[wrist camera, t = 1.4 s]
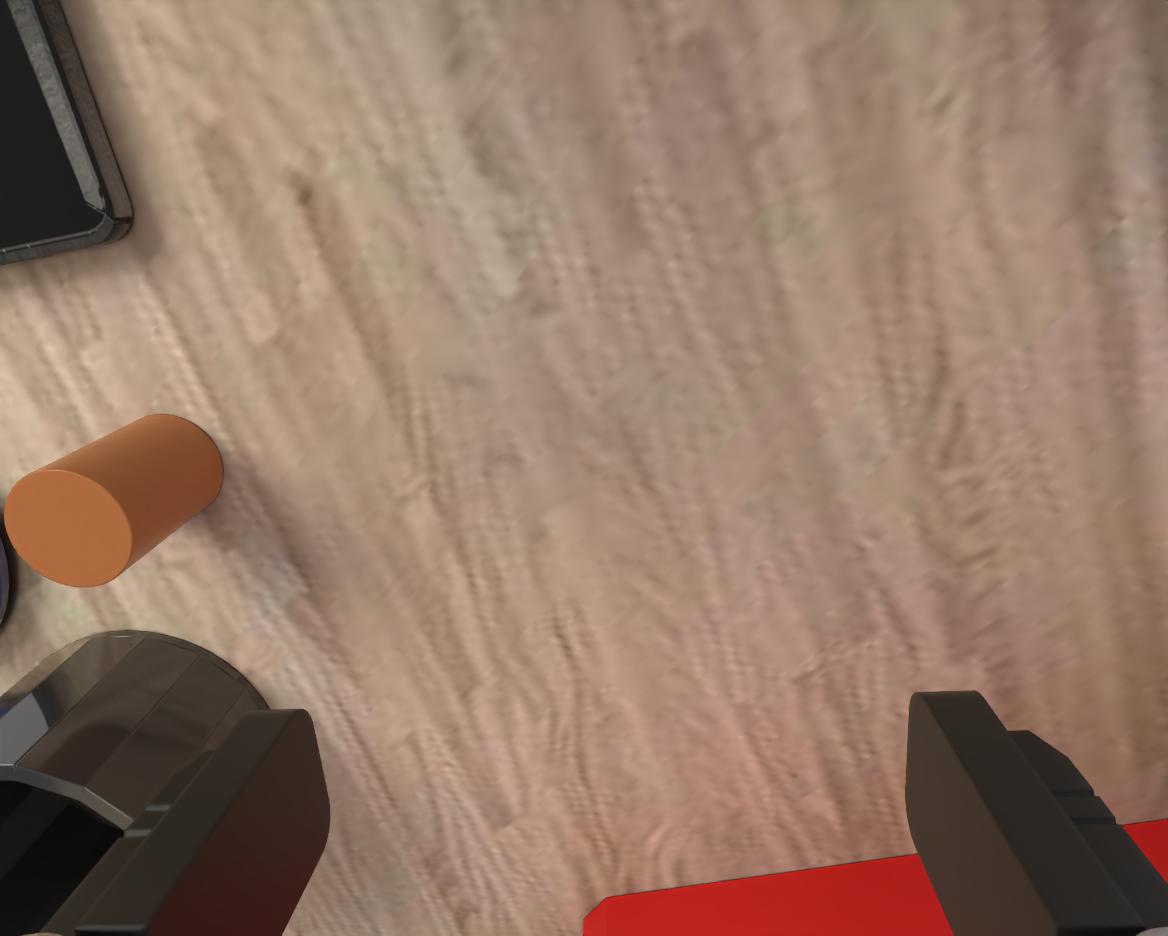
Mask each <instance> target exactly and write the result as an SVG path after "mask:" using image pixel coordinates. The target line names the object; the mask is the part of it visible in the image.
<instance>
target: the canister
mask: <svg viewBox="0 0 1168 936" xmlns="http://www.w3.org/2000/svg"><path fill="white" fill-rule="evenodd" d="M254 710H269V709H268V707H267V705H266V703H265V702H264V700H263V699H262V698H261V696H260V695H259V694H258V692H257V691H256V690H255V689H254V687H253V686H252V685H251V684H250V683H249V682H248V681H247V680H246V679H245V678H244V677H243V676H242V675H241V674H239V673H238V672H237V671H236V670H235V669H233V668H232V667H231V666H230V665H229V664H227V663H226V662H224V661H223V660H221V659H220V658H218V657H217V656H215V655H214V654H212V653H210V652H208V651H206V650H204V649H202V648H200V647H198V646H196V645H193V644H191V643H188V642H186V641H183V640H181V639H178V638H174V637H170V636H167V635H163V634H158V633H152V632H146V631H128V630H127V631H111V632H106V633H100V634H95V635H92V636H89V637H86V638H83V639H80V640H77V641H75V642H73V643H72V644H70V645H68V646H66V647H64V648H63V649H61V650H60V651H59V652H56V653H54V654H51V655H50V656H49V657H47V658H46V659H45V660H44V661H42V662H41V663H40V664H39V665H38V666H36V667H35V668H34V669H33V670H32V671H30V672H29V673H28V674H27V675H26V676H24V677H23V678H22V679H21V680H20V681H18V682H17V683H16V684H15V685H14V686H12V687H11V688H10V689H9V690H8V691H6V692H5V693H4V694H3V695H2V696H0V936H23V935H28V934H34V933H39V932H40V931H41V930H42V929H43V927H44V926H45V925H46V924H47V923H48V921H49V920H50V919H51V918H52V917H53V915H54V914H55V913H56V912H57V911H58V909H59V908H60V907H61V906H62V905H63V904H64V902H65V901H66V900H67V899H68V898H69V896H70V895H71V894H72V893H73V892H74V890H75V889H76V888H77V887H78V886H79V884H80V883H81V882H82V881H83V880H84V878H85V877H86V876H87V875H88V874H89V872H90V871H91V870H92V869H93V868H94V866H95V865H96V864H97V863H98V862H99V861H100V859H101V858H102V857H103V856H104V855H105V853H106V852H107V851H108V850H109V849H110V847H111V846H112V845H113V844H114V843H115V841H116V840H117V839H118V838H123V836H124V831H125V829H126V828H127V827H128V826H129V825H130V823H131V822H132V821H133V820H134V819H135V818H136V816H137V815H138V814H139V813H140V812H144V811H145V806H146V804H147V803H148V802H149V801H150V800H151V798H152V797H153V796H154V795H155V794H156V792H157V791H158V790H159V789H160V788H161V786H162V785H163V784H164V783H165V782H166V780H167V779H168V778H169V777H170V776H171V775H172V774H174V773H175V772H176V771H178V770H179V769H181V768H182V767H183V766H185V765H186V764H187V763H189V762H190V761H192V760H193V759H194V758H196V757H197V756H199V755H200V754H201V753H203V752H204V751H206V750H215V749H216V748H217V747H218V746H219V744H220V743H221V742H222V741H223V739H224V738H225V737H226V736H227V734H228V733H229V732H230V731H231V729H232V728H233V727H234V725H235V724H236V723H237V722H238V720H239V719H240V718H241V717H242V716H243V715H244V714H245V713H246V712H248V711H254Z"/></svg>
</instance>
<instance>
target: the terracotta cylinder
mask: <svg viewBox="0 0 1168 936" xmlns="http://www.w3.org/2000/svg"><path fill="white" fill-rule="evenodd" d="M222 481H223V465H222V460H221V457H220V454H219V452H218V450H217V448H216V446H215V445H214V443H213V442H212V440H211V439H210V438H209V437H208V436H207V434H206V433H204V432H203V431H202V430H201V429H200V428H199V427H197V426H196V425H194V424H193V423H191V422H189V421H187V420H185V419H182V418H180V417H176V416H172V415H163V414H158V415H151V416H146V417H144V418H141V419H139V420H137V421H135V422H133V423H131V424H129V425H127V426H125V427H123V428H121V429H119V430H117V431H115V432H113V433H111V434H109V435H107V436H105V437H103V438H101V439H99V440H97V441H95V442H93V443H91V444H89V445H87V446H85V447H83V448H81V449H79V450H77V451H75V452H73V453H71V454H69V455H67V456H65V457H63V458H61V459H58V460H56V461H54V462H52V463H50V464H48V465H46V466H44V467H42V468H40V469H38V470H36V471H34V472H32V473H30V474H28V475H27V476H25V477H23V478H22V479H21V480H20V481H18V482H17V483H16V484H15V486H14V487H13V488H12V490H11V491H10V493H9V495H8V497H7V500H6V503H5V508H4V521H5V527H6V531H7V534H8V536H9V539H10V541H11V543H12V545H13V547H14V548H15V550H16V551H17V553H18V554H19V555H20V556H21V558H22V559H23V560H24V561H25V562H26V563H27V564H28V565H29V566H30V567H32V568H33V569H34V570H35V571H37V572H38V573H40V574H41V575H43V576H44V577H46V578H48V579H50V580H52V581H55V582H57V583H60V584H64V585H67V586H73V587H93V586H98V585H102V584H105V583H107V582H109V581H111V580H113V579H115V578H116V577H117V576H119V575H120V574H121V573H123V572H124V571H125V570H126V569H128V568H129V567H130V566H131V565H133V564H134V563H135V562H136V561H138V560H139V559H140V558H142V557H143V556H144V555H145V554H147V553H148V552H149V551H150V550H152V549H153V548H154V547H155V546H157V545H158V544H159V543H161V542H162V541H163V540H164V539H166V538H167V537H168V536H169V535H171V534H172V533H173V532H174V531H176V530H177V529H178V528H180V527H181V526H182V525H183V524H185V523H186V522H187V521H188V520H190V519H191V518H192V517H193V516H195V515H196V514H197V513H199V512H200V511H201V510H202V509H204V508H205V507H206V506H207V505H209V504H210V503H211V502H212V501H213V500H214V499H215V497H216V496H217V495H218V493H219V491H220V488H221V485H222Z"/></svg>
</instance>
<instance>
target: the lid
mask: <svg viewBox="0 0 1168 936" xmlns="http://www.w3.org/2000/svg"><path fill="white" fill-rule="evenodd" d="M8 594H9V573H8V563H7V559H6V554H5V550H4V546H3V543H2V540H1V538H0V624H1V622H2V619H3V617H4V614H5V610H6V606H7V602H8Z"/></svg>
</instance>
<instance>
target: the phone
mask: <svg viewBox="0 0 1168 936" xmlns="http://www.w3.org/2000/svg"><path fill="white" fill-rule="evenodd" d="M131 224H132V209H131V204H130V201H129V198H128V195H127V192H126V190H125V187H124V184H123V181H122V178H121V176H120V173H119V170H118V167H117V164H116V162H115V159H114V156H113V153H112V150H111V148H110V145H109V142H108V139H107V136H106V134H105V131H104V128H103V125H102V122H101V120H100V117H99V114H98V111H97V108H96V106H95V103H94V100H93V97H92V94H91V92H90V89H89V86H88V83H87V80H86V78H85V75H84V72H83V69H82V66H81V64H80V61H79V58H78V55H77V52H76V50H75V47H74V44H73V41H72V38H71V36H70V33H69V30H68V27H67V24H66V21H65V19H64V16H63V13H62V10H61V7H60V5H59V2H58V0H0V265H5V264H10V263H15V262H19V261H24V260H29V259H34V258H39V257H44V256H49V255H53V254H58V253H63V252H68V251H73V250H78V249H83V248H87V247H92V246H97V245H102V244H107V243H112V242H114V241H117V240H119V239H121V238H122V237H123V236H124V235H125V234H126V233H127V232H128V230H129V228H130V226H131Z"/></svg>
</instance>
